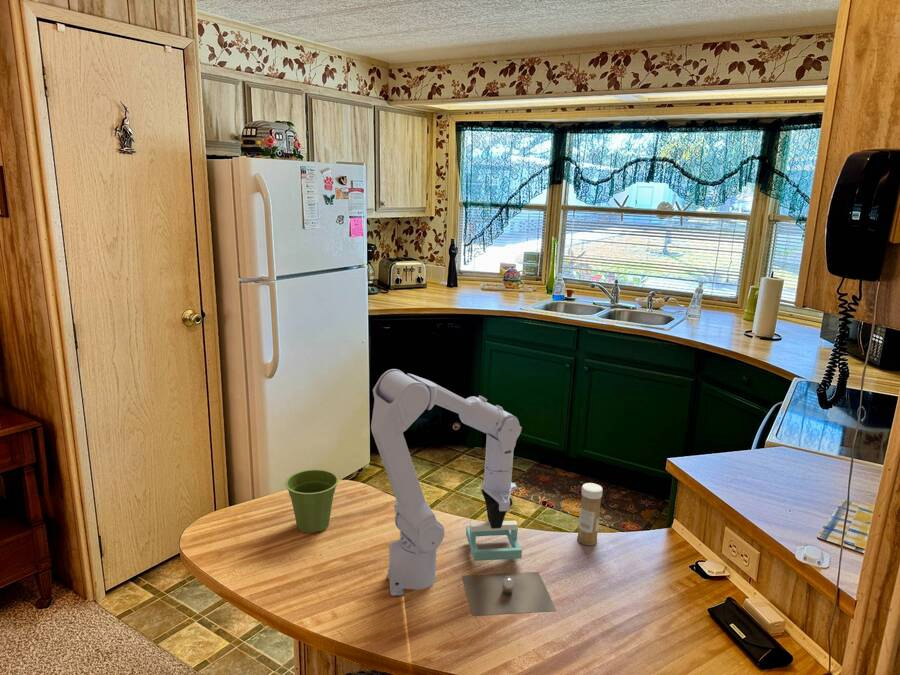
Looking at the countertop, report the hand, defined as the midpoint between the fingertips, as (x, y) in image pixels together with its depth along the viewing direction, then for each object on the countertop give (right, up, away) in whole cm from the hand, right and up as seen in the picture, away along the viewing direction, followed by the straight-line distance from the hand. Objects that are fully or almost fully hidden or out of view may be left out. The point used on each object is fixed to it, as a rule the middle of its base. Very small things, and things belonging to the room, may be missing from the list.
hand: (494, 524), depth 131 cm
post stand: (+2, -11, -11) cm, 15 cm away
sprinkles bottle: (+22, -7, +10) cm, 25 cm away
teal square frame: (0, -5, +1) cm, 5 cm away
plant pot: (-41, -4, +11) cm, 43 cm away
